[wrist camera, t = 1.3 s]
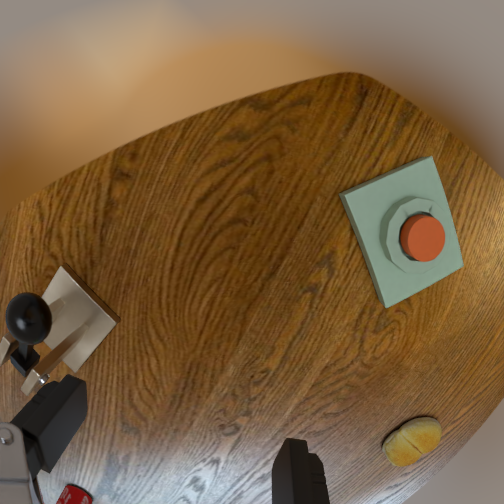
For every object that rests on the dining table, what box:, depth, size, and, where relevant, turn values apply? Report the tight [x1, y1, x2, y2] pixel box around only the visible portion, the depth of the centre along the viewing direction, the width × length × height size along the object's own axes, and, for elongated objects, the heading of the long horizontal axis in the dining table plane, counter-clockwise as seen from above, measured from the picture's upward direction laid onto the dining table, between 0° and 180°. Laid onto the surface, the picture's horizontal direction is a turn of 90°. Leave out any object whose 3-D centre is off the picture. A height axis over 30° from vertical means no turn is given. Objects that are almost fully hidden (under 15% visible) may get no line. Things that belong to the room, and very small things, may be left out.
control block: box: [339, 156, 464, 308], centre depth 28 cm, size 12×10×4 cm
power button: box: [400, 214, 445, 262], centre depth 26 cm, size 4×4×2 cm
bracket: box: [0, 263, 120, 396], centre depth 28 cm, size 11×9×12 cm
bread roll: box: [382, 417, 442, 466], centre depth 34 cm, size 8×9×4 cm
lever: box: [6, 292, 53, 377], centre depth 20 cm, size 14×4×4 cm, turn 135°
